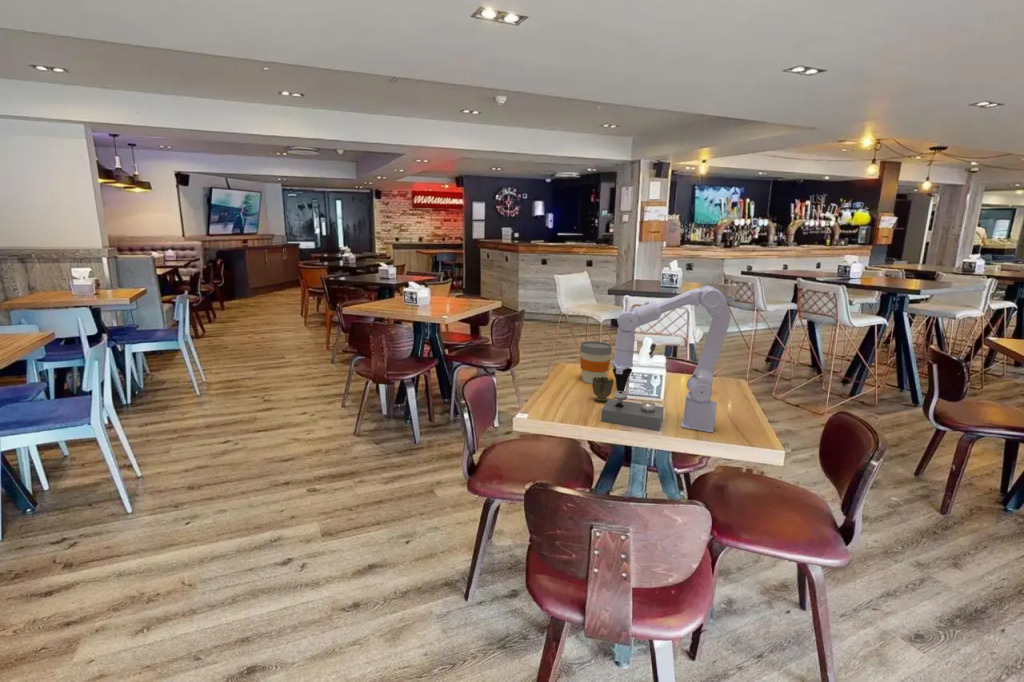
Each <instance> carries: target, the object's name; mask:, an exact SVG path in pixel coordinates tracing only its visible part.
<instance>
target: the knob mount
mask: <svg viewBox="0 0 1024 682" xmlns="http://www.w3.org/2000/svg"><path fill="white" fill-rule="evenodd" d="M664 409H665V407H664V406H661V405H660V406H658V405H655V411H654V412H645V411H642V410H641V403H638V402H633V401H627V400H622V406H617V399H615V398H607V400H606V401H605V404H604V405H603V407H602V409H601V417H600V422H604V423H609V424H614V425H619V426H620V425H621V426H627V427H633V428H638V429H643V430H650V431H657V432H660V430H661V426H662V423H663V419H664Z"/></svg>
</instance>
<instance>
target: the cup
mask: <svg viewBox="0 0 1024 682" xmlns="http://www.w3.org/2000/svg"><path fill="white" fill-rule="evenodd" d="M613 386H614V379H613V378H610V379H609V378H608V376H607V377H601V378H599V377H598V379H597V377H595V378H594V379H593V384H592V391H593V394H594V395H595V397H596V401H597V402H600V403H601V402H602V403H603V402H604V403H606V402H607V401H608V397H610V395H612V390H613Z"/></svg>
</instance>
